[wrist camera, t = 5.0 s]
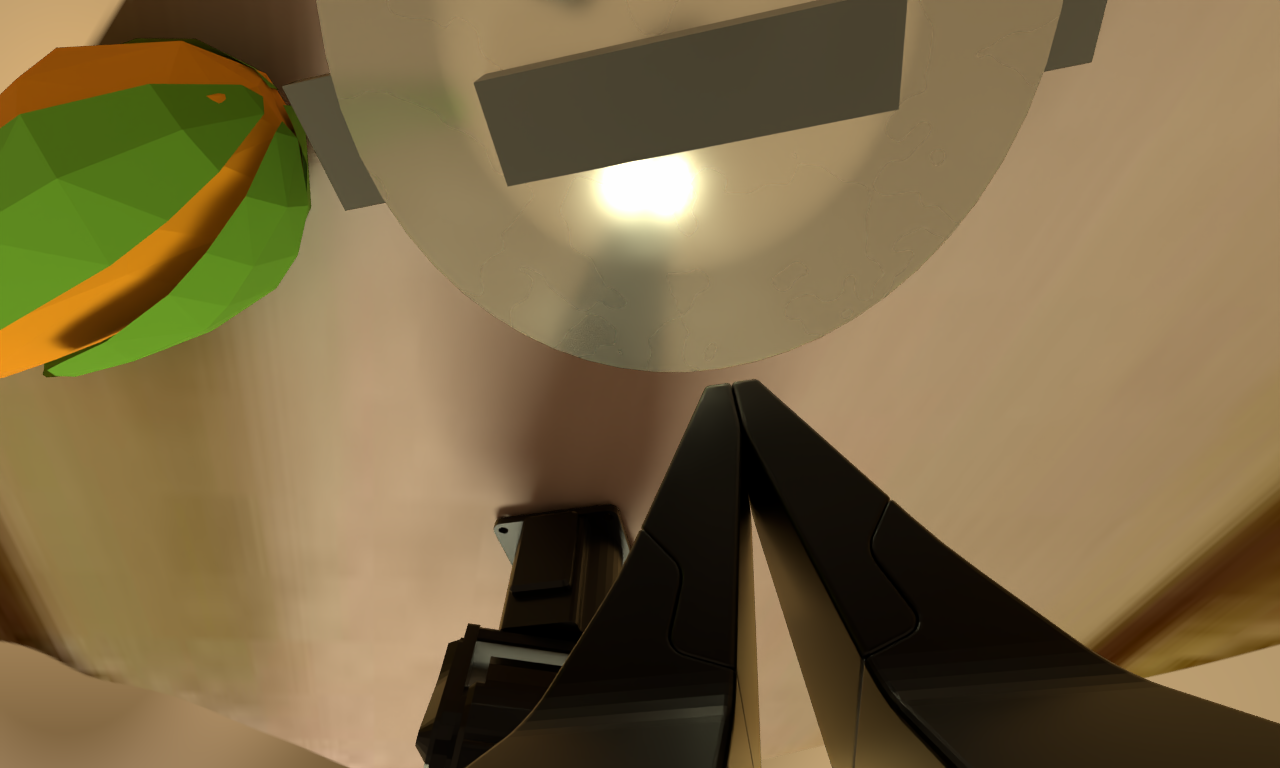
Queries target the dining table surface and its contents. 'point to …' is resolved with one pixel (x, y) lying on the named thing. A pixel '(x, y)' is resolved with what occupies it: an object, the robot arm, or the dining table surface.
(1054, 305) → the dining table surface
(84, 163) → the corn
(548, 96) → the lid
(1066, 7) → the pot
